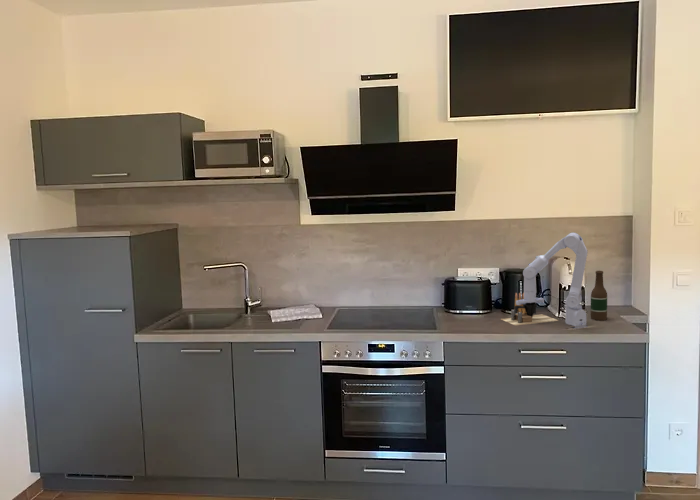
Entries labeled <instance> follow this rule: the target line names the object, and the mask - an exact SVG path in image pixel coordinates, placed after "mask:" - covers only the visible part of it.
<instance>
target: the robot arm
mask: <svg viewBox="0 0 700 500" xmlns="http://www.w3.org/2000/svg"><path fill="white" fill-rule="evenodd" d="M566 248H569V250H571V251H573V253H574V254H575V261H574V267H573V273H572V278H571V283H570V287H569V292H568V295H567V297H566V298H565V301H564V302H565V322H564V323H565V324H566V325H569V326H572V327H570V328H571V329H573V330H574V329H575V330H576V329H582V328H583V329H584V328H589V326H588V325H587V311H585V310H583V306H582V304H581V302H582V300H583V299H582V298H583V297H582V286H583V280H584V274H585V270H586V264H587V263H586V262H587V258H588V248H587V247H586V245H585V242H584V240H583V237H582V236H581V235H580V234H578V233H577V232H570V233H568V234H567V235H566V236H564V237H562V238H561V239H560V240H558V241H557V242H555V243H554V245H553V246H552V247H551V248H550V249H548V251H547V252H545V254H541V255H540V254H539V255H536V256H535V259H534V260H533V261H532V262H531V263H528V266H527V267H525V268H524V269H523V271H522V275H523V293H524V299H522V298H521V300H519V299H518V300H517V301H516V305H521V304H523V306H524V308H525V310H526V313H525V314H526V315H529V316H531V317H533V315H534V314H533V313H534V311H535V309H536V310H537V307H538V303H545V298H543V297H537V280H536V279H537V278H536V277H537V274H538V273H540V272H541V271H542V270H543V269H544V268H546V267H547V266H548V265H549V261H550V259H551V258H553V256H555V254H556V253H558V252H559V251H560V250H563V249H566Z"/></svg>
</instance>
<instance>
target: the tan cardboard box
mask: <svg viewBox="0 0 700 500" xmlns="http://www.w3.org/2000/svg"><path fill="white" fill-rule="evenodd" d="M515 320H517V321H518V313H515ZM526 322H532V317H531V316H529V315H527V313H522V323H526Z"/></svg>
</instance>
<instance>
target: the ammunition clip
mask: <svg viewBox="0 0 700 500" xmlns="http://www.w3.org/2000/svg"><path fill="white" fill-rule="evenodd" d="M514 294H515V295H514V310H515V314H518V312H522V313H524V314H527V313H526V310H525V308H524V306H523V304H521V305H516V301H517V300H521V299H524V292H523V293H522V295H521V292H519V293H517V292H515V293H514ZM533 315H537V308H536V309H535V311H534V313H533Z"/></svg>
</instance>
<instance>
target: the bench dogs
mask: <svg viewBox="0 0 700 500" xmlns="http://www.w3.org/2000/svg"><path fill="white" fill-rule="evenodd" d="M515 314H516V313H515V308H514V309H511V310H510V318H511V320H515ZM517 314H518V323H522V312H518V313H517Z"/></svg>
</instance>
